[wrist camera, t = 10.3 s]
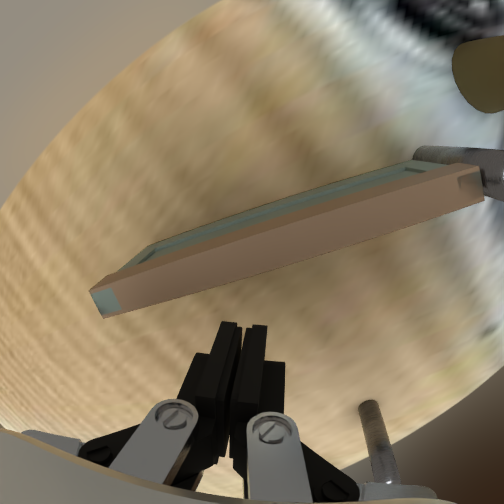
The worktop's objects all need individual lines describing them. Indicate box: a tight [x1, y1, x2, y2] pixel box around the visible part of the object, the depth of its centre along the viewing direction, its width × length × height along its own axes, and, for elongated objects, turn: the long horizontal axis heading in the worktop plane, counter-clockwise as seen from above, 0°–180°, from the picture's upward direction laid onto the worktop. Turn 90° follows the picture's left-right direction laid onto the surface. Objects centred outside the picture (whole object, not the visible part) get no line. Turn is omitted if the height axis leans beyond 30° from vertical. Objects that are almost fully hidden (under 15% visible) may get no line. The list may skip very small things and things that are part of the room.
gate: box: [89, 160, 485, 319], centre depth 16 cm, size 19×2×8 cm, turn 110°
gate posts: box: [358, 146, 504, 485], centre depth 18 cm, size 2×24×10 cm, turn 177°
